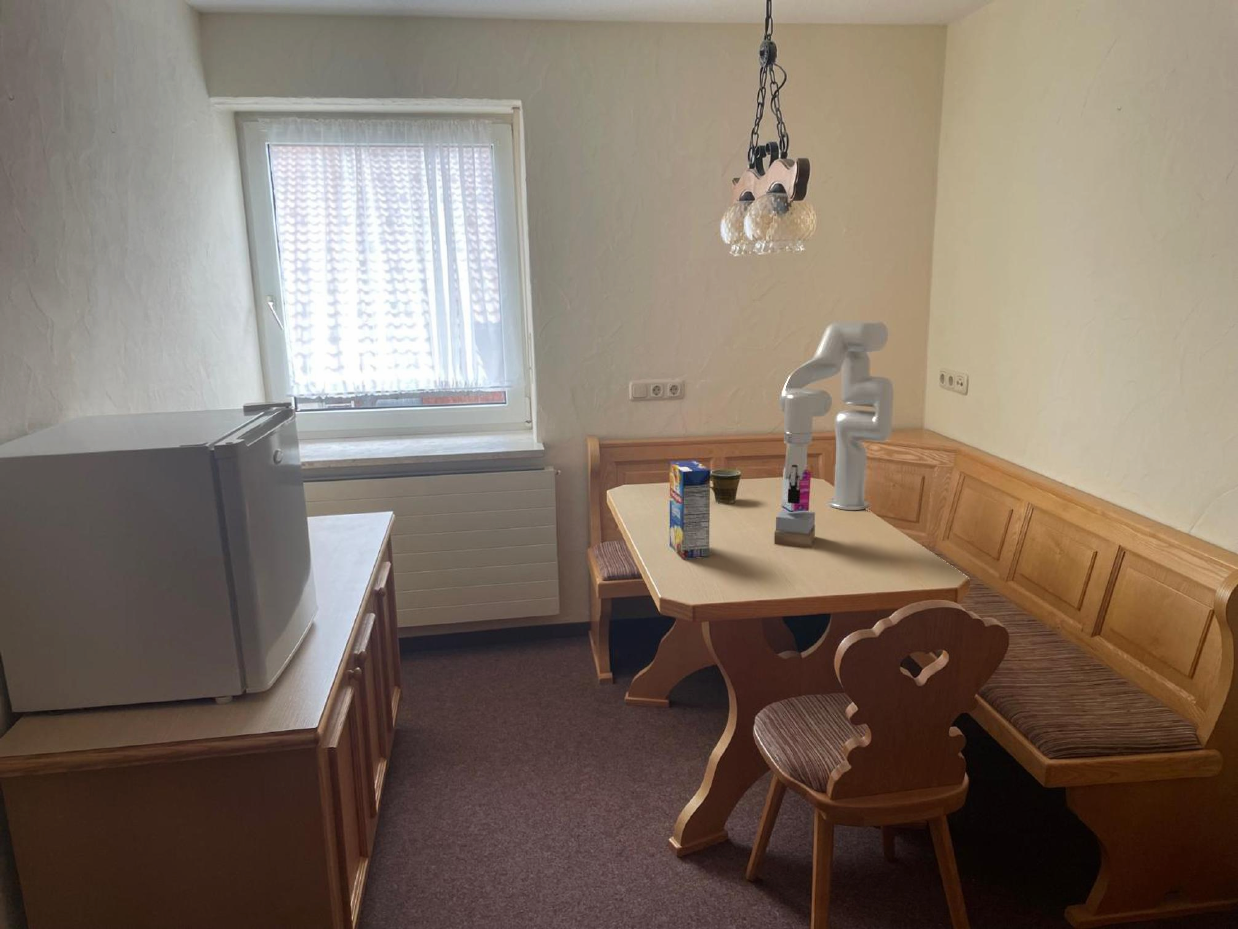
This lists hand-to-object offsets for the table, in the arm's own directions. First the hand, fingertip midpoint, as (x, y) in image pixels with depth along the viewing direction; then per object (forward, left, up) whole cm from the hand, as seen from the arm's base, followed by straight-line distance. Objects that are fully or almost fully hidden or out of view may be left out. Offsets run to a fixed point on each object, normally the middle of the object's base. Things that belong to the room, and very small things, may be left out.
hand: (795, 498), depth 224 cm
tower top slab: (0, 0, -9) cm, 9 cm away
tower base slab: (0, 0, -13) cm, 13 cm away
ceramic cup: (-35, -29, -12) cm, 47 cm away
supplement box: (0, 0, -3) cm, 3 cm away
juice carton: (+18, -26, -12) cm, 34 cm away
